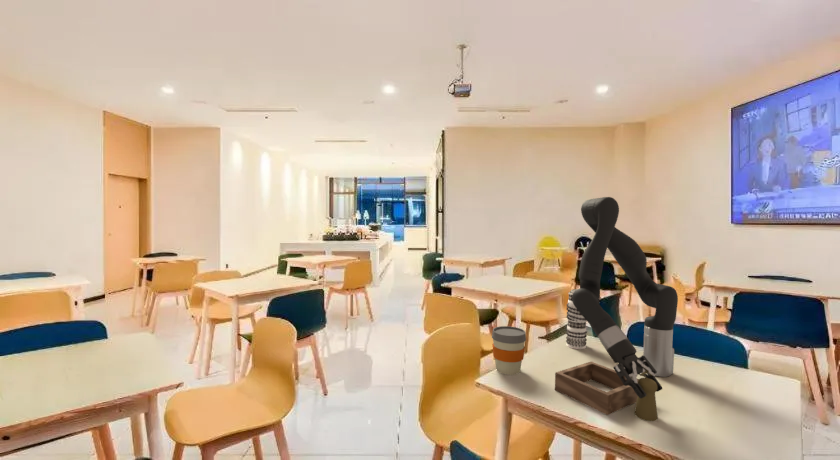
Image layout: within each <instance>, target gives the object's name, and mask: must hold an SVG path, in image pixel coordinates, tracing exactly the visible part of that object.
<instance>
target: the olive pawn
mask: <svg viewBox="0 0 840 460" xmlns="http://www.w3.org/2000/svg"><path fill="white" fill-rule="evenodd" d="M638 379H639V380H638V383H639V384H640V386H641V387H642V389H643V390H644V391H645V393H646V396H645V397H644V398H639V396H638V397H637V402H636V403H635V407H634V408H635V409H634V416H635V417H636V418H638V419H640V420H643V421H645V422H646V421H647V422H656V421H658V409H657V400H656V393H657V392H656V391H657V383H656V382H655V381H654V380H652V379H649V378H645V377H641V378H638Z"/></svg>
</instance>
